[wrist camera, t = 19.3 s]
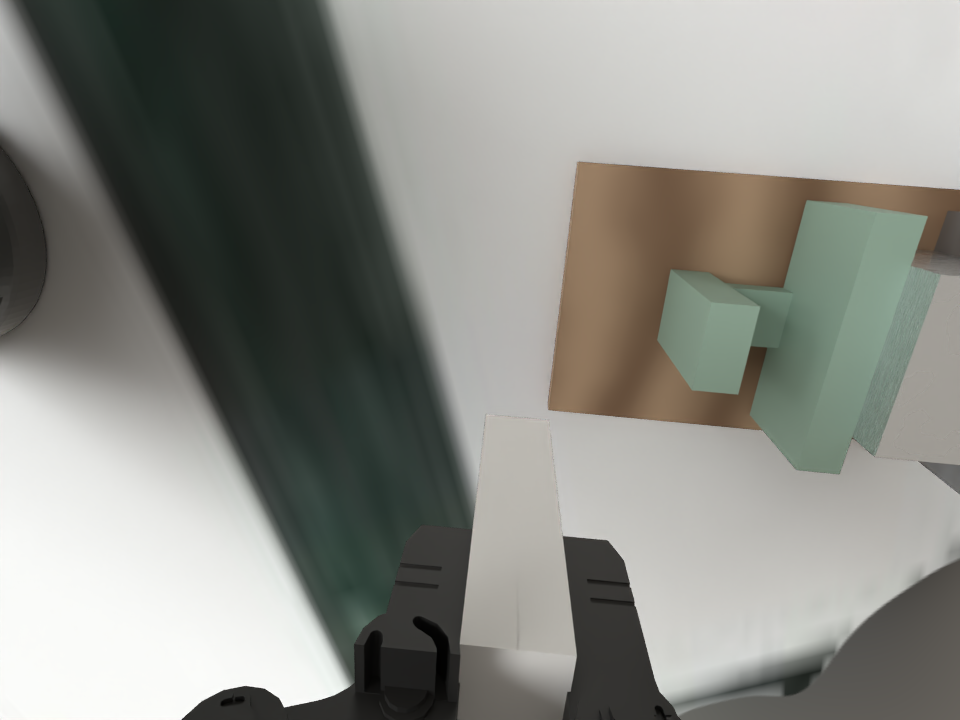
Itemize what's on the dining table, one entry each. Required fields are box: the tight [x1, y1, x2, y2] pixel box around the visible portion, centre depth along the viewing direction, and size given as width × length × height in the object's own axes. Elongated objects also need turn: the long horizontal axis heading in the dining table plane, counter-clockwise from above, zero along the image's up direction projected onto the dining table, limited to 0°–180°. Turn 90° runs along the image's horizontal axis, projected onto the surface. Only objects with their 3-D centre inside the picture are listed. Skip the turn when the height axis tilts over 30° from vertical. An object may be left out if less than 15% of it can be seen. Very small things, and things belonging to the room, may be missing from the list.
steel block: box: [852, 249, 960, 465], centre depth 26 cm, size 5×8×8 cm, turn 176°
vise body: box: [548, 162, 960, 494], centre depth 28 cm, size 22×14×8 cm, turn 86°
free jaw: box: [657, 200, 928, 474], centre depth 27 cm, size 8×12×7 cm, turn 176°
